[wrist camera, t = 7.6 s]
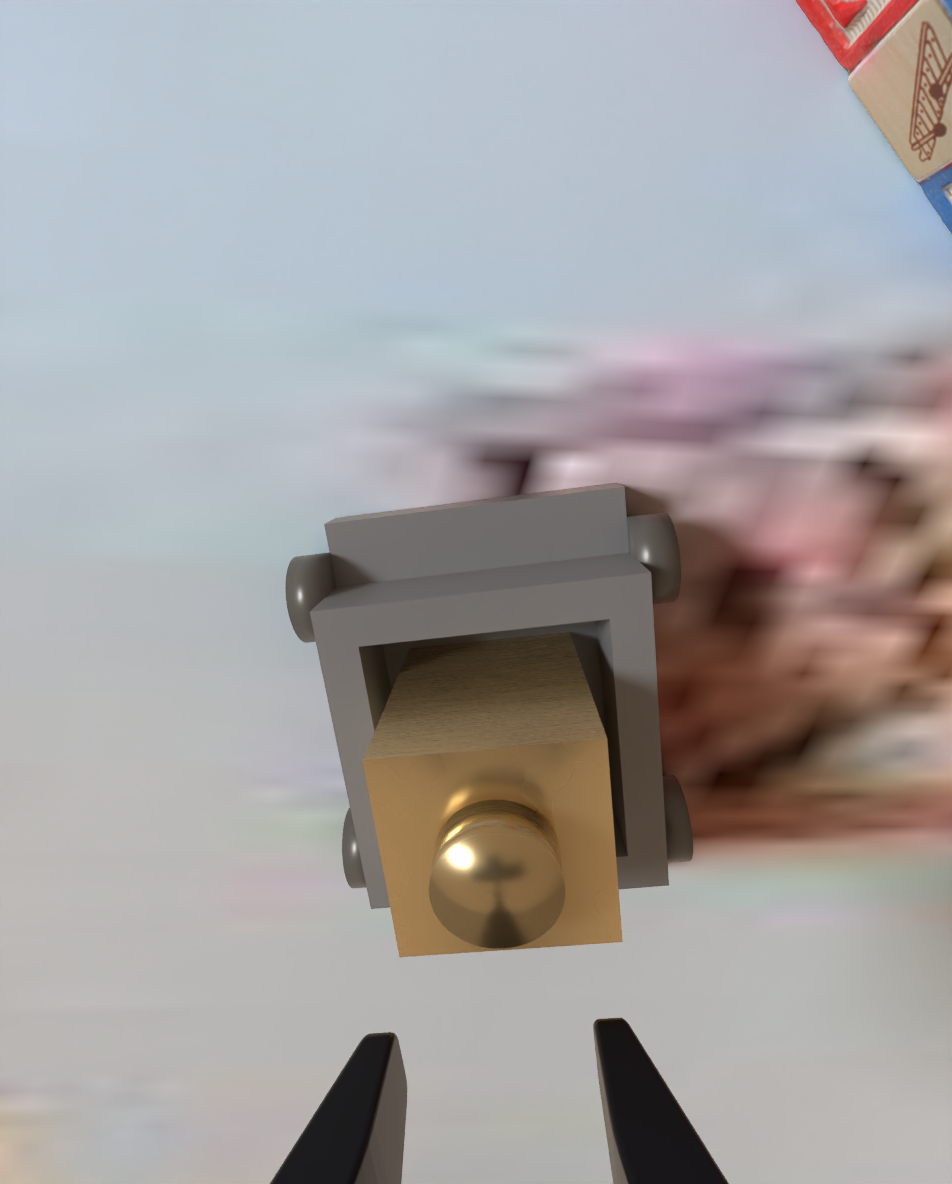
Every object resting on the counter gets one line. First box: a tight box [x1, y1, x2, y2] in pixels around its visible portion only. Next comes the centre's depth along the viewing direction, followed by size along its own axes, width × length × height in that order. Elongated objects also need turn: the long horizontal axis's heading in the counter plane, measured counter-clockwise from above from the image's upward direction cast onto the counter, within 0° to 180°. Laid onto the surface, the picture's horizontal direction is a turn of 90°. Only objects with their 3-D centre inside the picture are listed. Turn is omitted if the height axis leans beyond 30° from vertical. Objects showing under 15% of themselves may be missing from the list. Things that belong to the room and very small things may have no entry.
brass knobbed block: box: [362, 632, 622, 957], centre depth 14 cm, size 4×4×7 cm
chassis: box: [286, 483, 693, 909], centre depth 17 cm, size 12×10×4 cm
